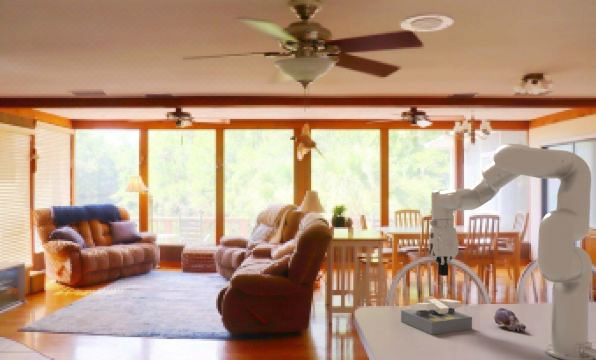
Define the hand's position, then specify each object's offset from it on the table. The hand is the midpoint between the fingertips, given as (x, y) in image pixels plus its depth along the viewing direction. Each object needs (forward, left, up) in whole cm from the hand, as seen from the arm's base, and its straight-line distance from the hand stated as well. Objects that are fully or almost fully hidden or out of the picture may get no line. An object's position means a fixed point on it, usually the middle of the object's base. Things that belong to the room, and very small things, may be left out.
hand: (443, 275), depth 186 cm
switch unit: (-3, +6, -17) cm, 18 cm away
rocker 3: (-3, 0, -10) cm, 10 cm away
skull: (-16, -15, -17) cm, 28 cm away
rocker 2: (-3, +6, -10) cm, 11 cm away
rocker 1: (-3, +11, -10) cm, 15 cm away
